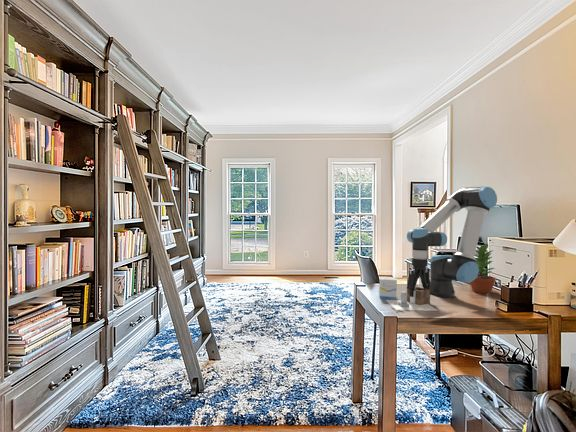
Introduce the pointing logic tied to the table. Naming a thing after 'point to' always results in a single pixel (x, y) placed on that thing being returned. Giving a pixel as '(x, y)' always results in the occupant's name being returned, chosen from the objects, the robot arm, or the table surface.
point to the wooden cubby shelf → (420, 296)
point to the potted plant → (483, 272)
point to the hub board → (407, 304)
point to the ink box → (388, 288)
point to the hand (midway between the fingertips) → (418, 301)
